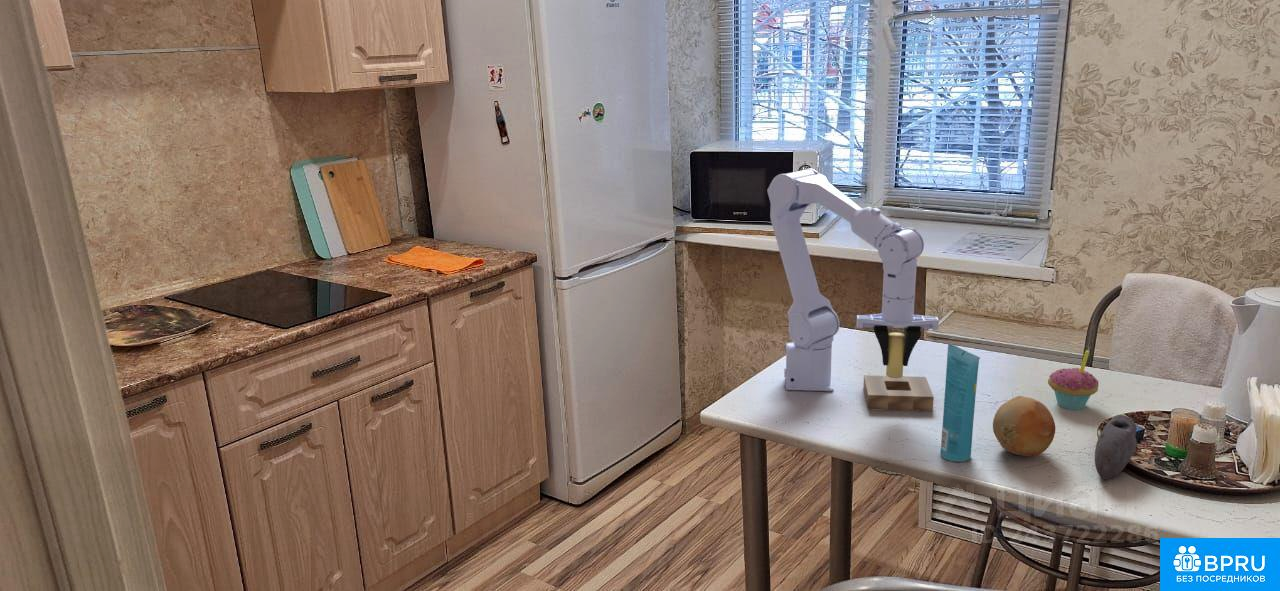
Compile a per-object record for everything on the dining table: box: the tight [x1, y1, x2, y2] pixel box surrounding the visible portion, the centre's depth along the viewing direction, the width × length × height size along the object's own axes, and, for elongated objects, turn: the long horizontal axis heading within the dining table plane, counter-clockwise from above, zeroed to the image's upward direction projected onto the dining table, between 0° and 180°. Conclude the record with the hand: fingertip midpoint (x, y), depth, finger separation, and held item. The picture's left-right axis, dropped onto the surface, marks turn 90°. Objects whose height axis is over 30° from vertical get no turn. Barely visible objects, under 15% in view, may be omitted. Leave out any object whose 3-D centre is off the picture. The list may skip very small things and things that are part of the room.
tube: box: [940, 342, 981, 463], centre depth 146 cm, size 7×5×19 cm, turn 26°
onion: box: [992, 395, 1056, 457], centre depth 147 cm, size 10×10×10 cm
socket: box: [862, 374, 935, 412], centre depth 171 cm, size 12×10×3 cm
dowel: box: [885, 332, 905, 378], centre depth 164 cm, size 3×3×8 cm
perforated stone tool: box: [1094, 414, 1138, 480], centre depth 142 cm, size 15×5×7 cm, turn 140°
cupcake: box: [1047, 346, 1099, 411], centre depth 164 cm, size 9×8×12 cm
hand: (894, 363), depth 165 cm, fingers closed on dowel, 3 cm apart
